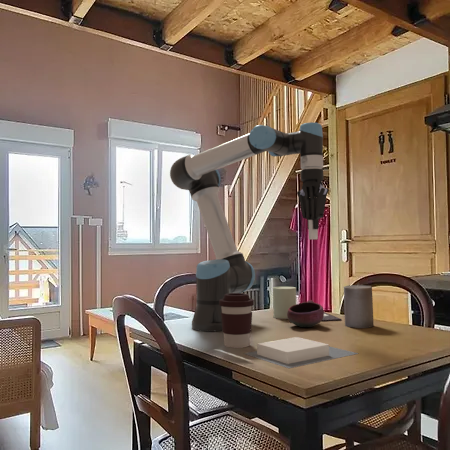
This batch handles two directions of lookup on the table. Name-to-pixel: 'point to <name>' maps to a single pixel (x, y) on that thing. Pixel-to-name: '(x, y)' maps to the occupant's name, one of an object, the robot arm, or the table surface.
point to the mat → (333, 354)
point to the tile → (292, 350)
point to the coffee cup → (236, 319)
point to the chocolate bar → (330, 318)
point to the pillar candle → (358, 306)
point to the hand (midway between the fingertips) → (313, 239)
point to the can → (283, 301)
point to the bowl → (306, 314)
